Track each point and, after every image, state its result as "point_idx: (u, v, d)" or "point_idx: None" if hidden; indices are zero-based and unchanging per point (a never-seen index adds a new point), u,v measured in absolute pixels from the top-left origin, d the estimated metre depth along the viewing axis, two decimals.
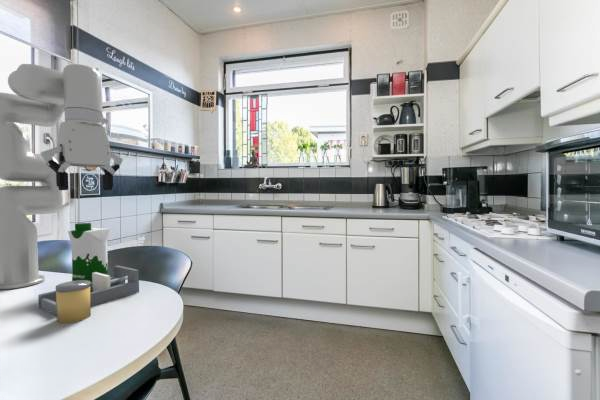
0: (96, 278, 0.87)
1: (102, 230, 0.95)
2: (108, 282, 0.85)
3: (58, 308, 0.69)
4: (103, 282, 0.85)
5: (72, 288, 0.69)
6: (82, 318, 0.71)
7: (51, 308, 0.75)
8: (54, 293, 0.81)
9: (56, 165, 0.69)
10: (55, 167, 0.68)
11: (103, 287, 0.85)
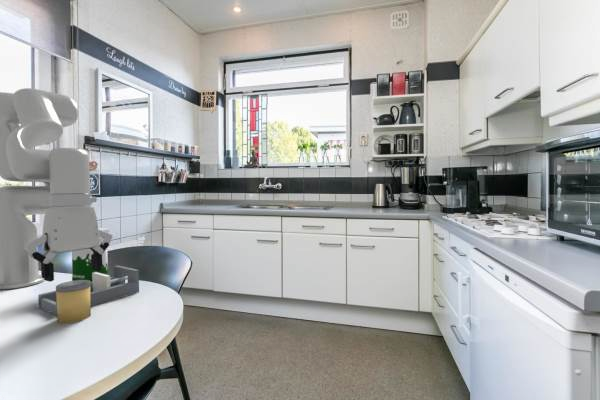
0: (96, 278, 0.87)
1: (102, 230, 0.95)
2: (108, 282, 0.85)
3: (58, 308, 0.69)
4: (103, 282, 0.85)
5: (72, 288, 0.69)
6: (82, 318, 0.71)
7: (51, 308, 0.75)
8: (54, 293, 0.81)
9: (41, 257, 0.66)
10: (40, 259, 0.65)
11: (103, 287, 0.85)
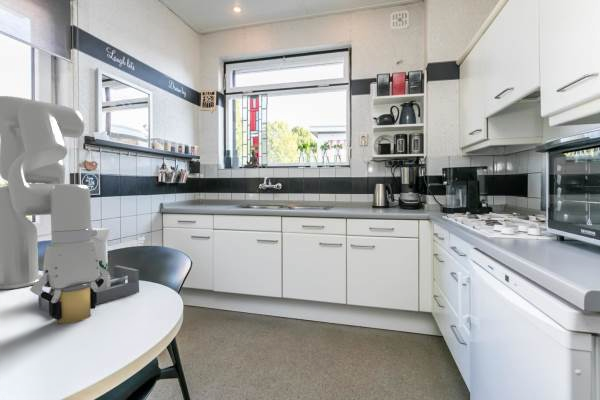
0: None
1: (102, 230, 0.95)
2: (108, 282, 0.85)
3: None
4: (103, 282, 0.85)
5: (72, 288, 0.69)
6: (82, 318, 0.71)
7: None
8: None
9: (47, 298, 0.67)
10: (48, 299, 0.67)
11: (103, 287, 0.85)
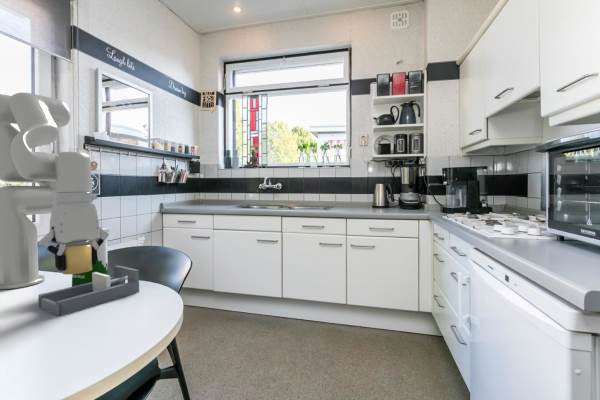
0: (96, 278, 0.87)
1: None
2: (108, 282, 0.85)
3: None
4: (103, 282, 0.85)
5: (76, 243, 0.78)
6: (85, 270, 0.80)
7: (51, 308, 0.75)
8: (54, 293, 0.81)
9: (54, 251, 0.76)
10: (54, 251, 0.76)
11: (103, 287, 0.85)
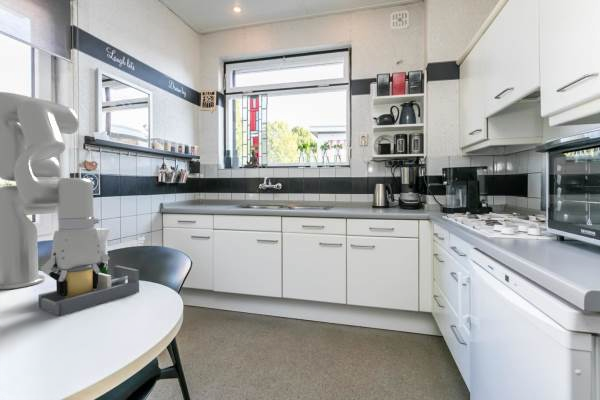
0: None
1: (102, 230, 0.95)
2: (109, 282, 0.85)
3: None
4: (104, 282, 0.85)
5: (77, 269, 0.79)
6: None
7: (51, 308, 0.75)
8: (54, 293, 0.81)
9: (55, 277, 0.77)
10: (55, 278, 0.77)
11: (104, 287, 0.85)
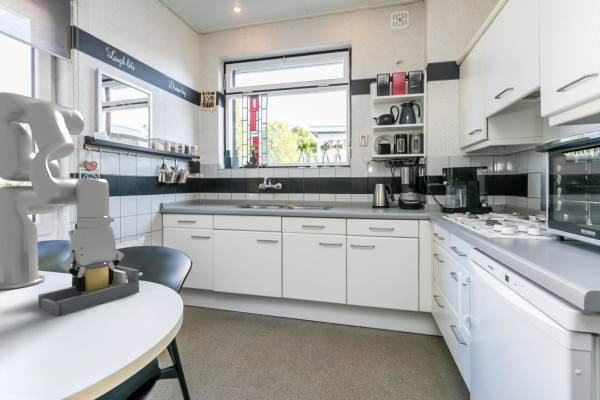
0: None
1: None
2: (124, 278, 0.88)
3: None
4: (119, 278, 0.89)
5: (95, 265, 0.82)
6: None
7: (51, 308, 0.75)
8: (54, 293, 0.81)
9: (74, 273, 0.80)
10: (74, 274, 0.80)
11: (119, 283, 0.89)
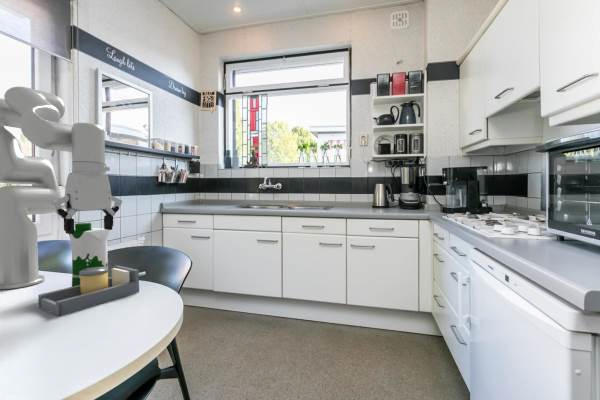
0: (115, 274, 0.92)
1: (102, 230, 0.95)
2: (127, 277, 0.89)
3: (82, 289, 0.82)
4: (122, 277, 0.90)
5: (94, 272, 0.82)
6: None
7: (51, 308, 0.75)
8: (54, 293, 0.81)
9: (64, 213, 0.79)
10: (63, 215, 0.79)
11: (122, 282, 0.90)
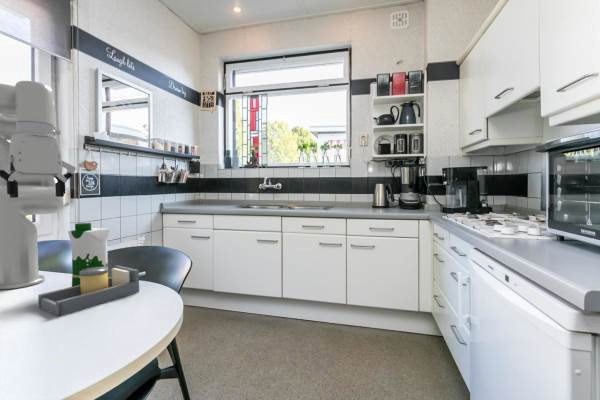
0: (115, 274, 0.92)
1: (102, 230, 0.95)
2: (127, 277, 0.89)
3: (82, 289, 0.82)
4: (122, 277, 0.90)
5: (94, 272, 0.82)
6: None
7: (51, 308, 0.75)
8: (54, 293, 0.81)
9: (6, 175, 0.74)
10: (5, 176, 0.74)
11: (122, 282, 0.90)
